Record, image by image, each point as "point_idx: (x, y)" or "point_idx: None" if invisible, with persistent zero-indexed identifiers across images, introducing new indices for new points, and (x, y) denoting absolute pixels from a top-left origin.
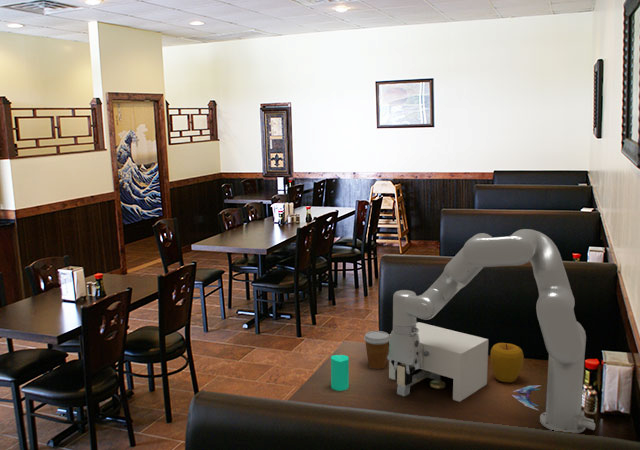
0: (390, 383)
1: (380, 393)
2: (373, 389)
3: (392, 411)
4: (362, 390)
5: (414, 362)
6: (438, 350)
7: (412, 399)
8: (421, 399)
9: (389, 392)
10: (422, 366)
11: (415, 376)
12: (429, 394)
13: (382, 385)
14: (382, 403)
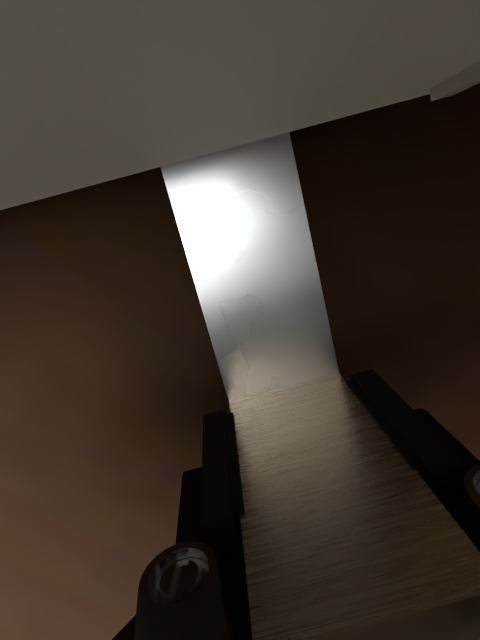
0: (12, 342)
1: (158, 532)
2: (57, 538)
3: None
4: (31, 613)
5: (196, 142)
6: None
7: (407, 385)
8: (459, 320)
9: (182, 463)
10: (454, 87)
11: (208, 155)
12: (438, 180)
13: (18, 432)
14: None
